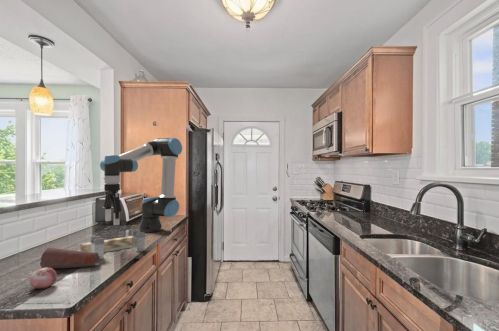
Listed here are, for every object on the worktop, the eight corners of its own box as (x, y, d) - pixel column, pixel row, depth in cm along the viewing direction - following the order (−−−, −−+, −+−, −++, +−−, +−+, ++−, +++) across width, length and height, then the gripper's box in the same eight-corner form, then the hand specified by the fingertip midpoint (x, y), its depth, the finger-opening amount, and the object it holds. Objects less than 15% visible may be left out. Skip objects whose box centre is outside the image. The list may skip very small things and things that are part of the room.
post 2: (139, 247, 153) (139, 230, 153) (144, 250, 148) (144, 232, 148) (131, 248, 150) (132, 231, 150) (137, 251, 145) (137, 233, 145)
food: (39, 272, 115) (39, 251, 115) (49, 265, 124) (49, 245, 124) (96, 268, 121) (96, 247, 121) (101, 261, 130) (102, 242, 130)
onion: (28, 293, 96) (29, 272, 96) (29, 286, 102) (30, 266, 102) (57, 288, 100) (57, 268, 100) (56, 281, 107) (56, 262, 107)
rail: (135, 242, 161) (135, 235, 162) (138, 243, 159) (138, 236, 159) (80, 251, 142) (80, 243, 142) (82, 253, 139) (82, 245, 139)
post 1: (99, 254, 139) (99, 235, 139) (103, 258, 134) (103, 238, 134) (90, 256, 136) (90, 237, 136) (94, 260, 131) (94, 239, 131)
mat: (137, 241, 165) (137, 240, 165) (144, 245, 158) (144, 244, 158) (74, 252, 143) (74, 251, 143) (79, 256, 136) (79, 255, 136)
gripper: (97, 182, 157) (97, 220, 157) (112, 185, 139) (112, 227, 139) (112, 182, 162) (112, 218, 163) (127, 184, 144) (127, 225, 144)
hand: (112, 222), depth 151 cm, fingers open, 13 cm apart
